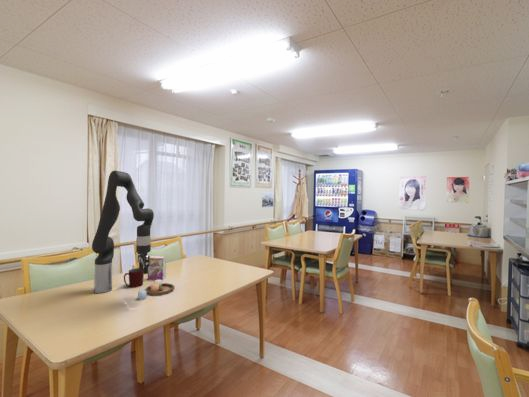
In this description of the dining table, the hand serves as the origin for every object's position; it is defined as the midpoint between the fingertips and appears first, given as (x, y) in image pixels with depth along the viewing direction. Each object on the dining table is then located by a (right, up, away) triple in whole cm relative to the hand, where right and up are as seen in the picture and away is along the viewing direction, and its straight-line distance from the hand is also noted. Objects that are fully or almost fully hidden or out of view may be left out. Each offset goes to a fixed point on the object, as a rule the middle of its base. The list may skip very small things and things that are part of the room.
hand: (143, 272), depth 151 cm
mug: (-15, -16, +19) cm, 29 cm away
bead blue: (-1, -16, 0) cm, 16 cm away
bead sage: (+2, -15, +15) cm, 21 cm away
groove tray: (+5, -16, +12) cm, 20 cm away
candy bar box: (-6, -16, +34) cm, 38 cm away
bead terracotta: (+3, -15, +8) cm, 17 cm away
